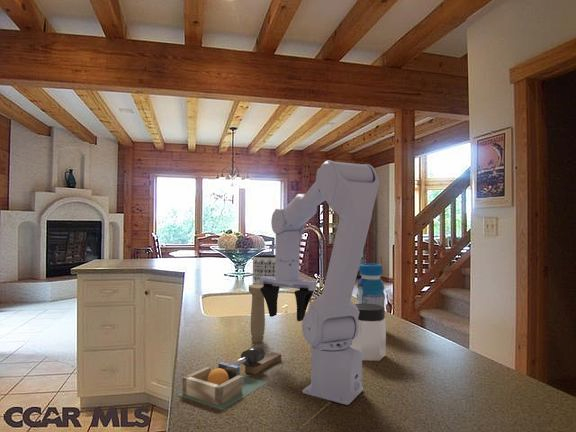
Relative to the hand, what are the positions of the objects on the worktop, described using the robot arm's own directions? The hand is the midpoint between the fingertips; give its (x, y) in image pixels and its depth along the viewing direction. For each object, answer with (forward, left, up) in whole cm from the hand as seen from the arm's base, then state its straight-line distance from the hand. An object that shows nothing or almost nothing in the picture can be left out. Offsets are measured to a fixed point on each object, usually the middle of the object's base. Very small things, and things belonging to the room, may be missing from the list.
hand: (286, 318), depth 93 cm
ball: (+2, +22, -8) cm, 23 cm away
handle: (+14, -8, -10) cm, 19 cm away
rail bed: (+2, +6, -10) cm, 12 cm away
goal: (+2, +23, -10) cm, 25 cm away
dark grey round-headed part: (+2, +14, -9) cm, 17 cm away
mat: (+2, +21, -10) cm, 23 cm away
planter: (+69, -94, -10) cm, 117 cm away
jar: (-15, -14, -10) cm, 23 cm away
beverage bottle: (-8, -36, -10) cm, 38 cm away
